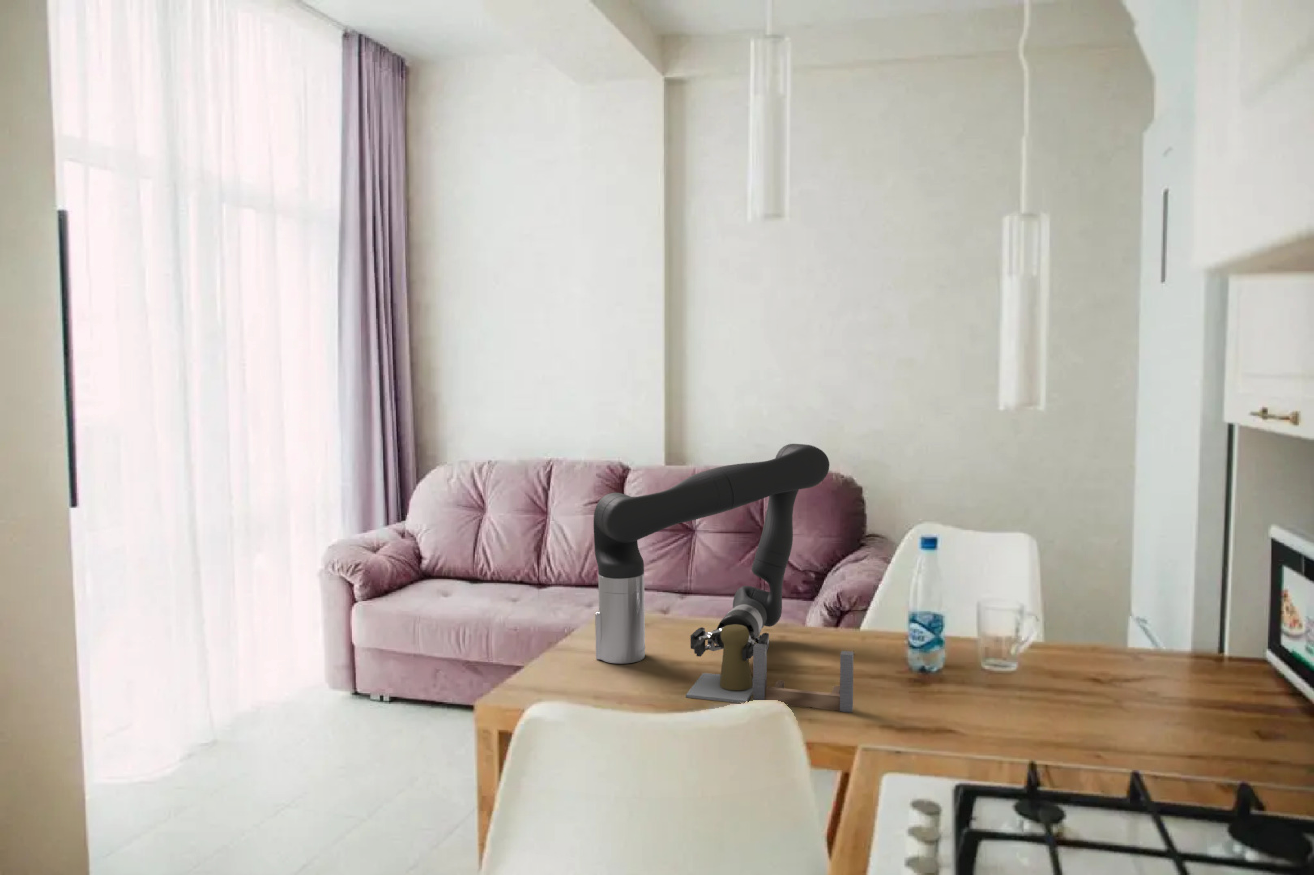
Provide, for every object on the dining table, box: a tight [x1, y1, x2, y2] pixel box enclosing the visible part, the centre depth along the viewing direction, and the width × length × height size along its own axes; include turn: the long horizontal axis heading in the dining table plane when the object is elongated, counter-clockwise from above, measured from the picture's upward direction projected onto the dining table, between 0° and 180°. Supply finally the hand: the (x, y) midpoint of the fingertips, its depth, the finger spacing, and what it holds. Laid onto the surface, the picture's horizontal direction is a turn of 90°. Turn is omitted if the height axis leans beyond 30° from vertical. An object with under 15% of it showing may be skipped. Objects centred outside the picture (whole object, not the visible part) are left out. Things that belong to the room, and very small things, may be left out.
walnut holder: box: [752, 643, 854, 714], centre depth 164 cm, size 17×9×10 cm, turn 72°
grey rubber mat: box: [685, 672, 753, 704], centre depth 170 cm, size 11×12×1 cm
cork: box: [720, 624, 753, 690], centre depth 170 cm, size 6×6×11 cm
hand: (721, 653), depth 167 cm, fingers open, 8 cm apart
